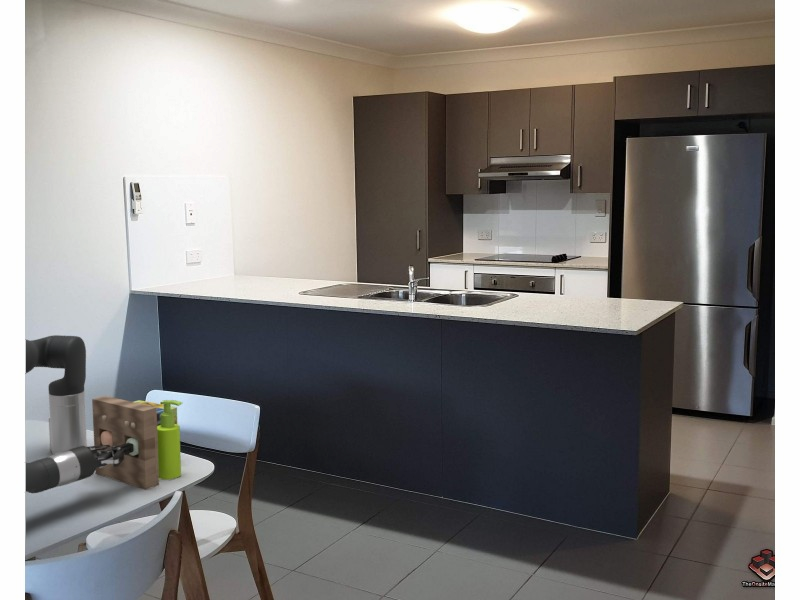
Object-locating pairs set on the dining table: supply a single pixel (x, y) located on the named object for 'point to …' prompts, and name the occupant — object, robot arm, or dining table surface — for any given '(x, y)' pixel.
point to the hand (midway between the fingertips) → (131, 446)
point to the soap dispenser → (169, 443)
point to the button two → (135, 444)
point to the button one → (106, 438)
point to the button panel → (126, 424)
